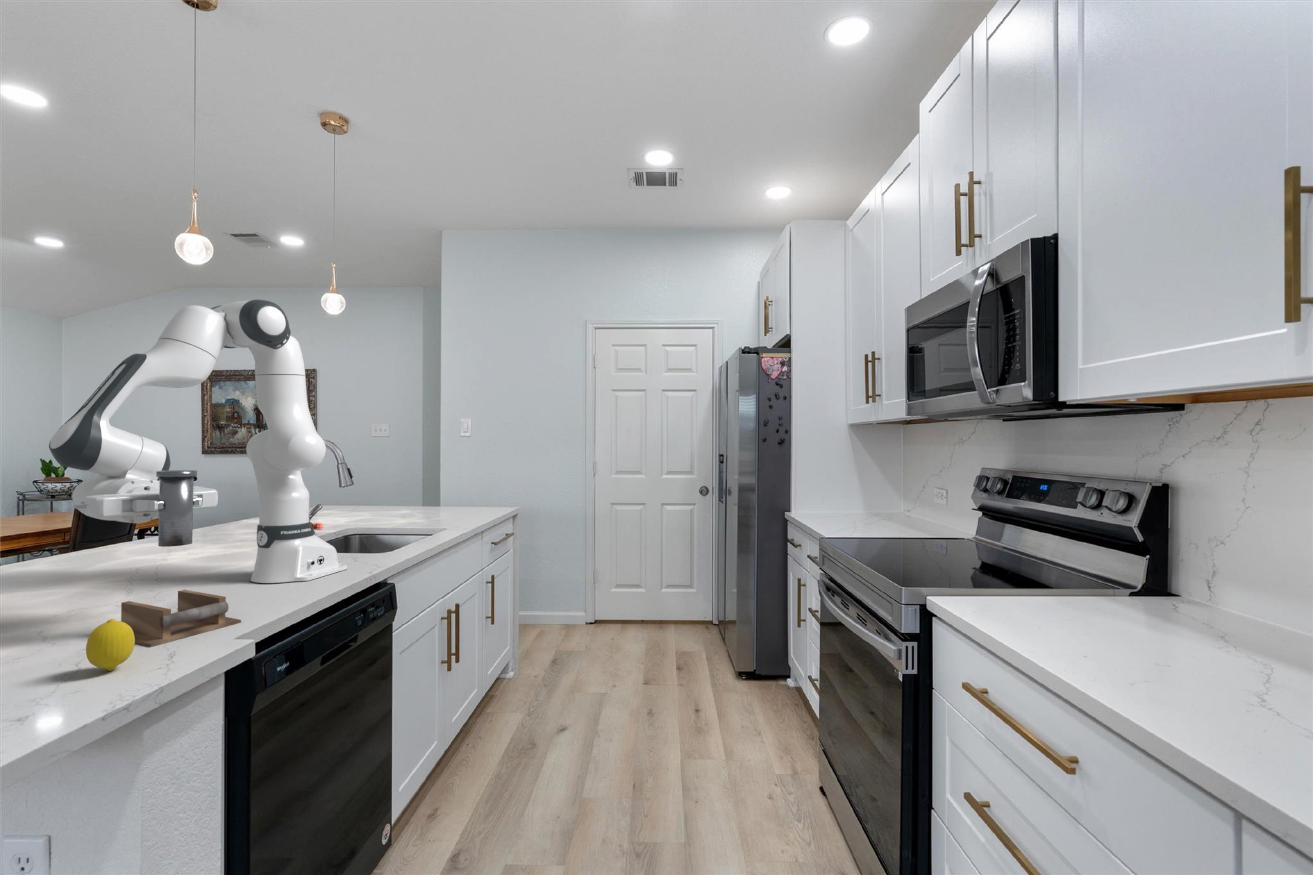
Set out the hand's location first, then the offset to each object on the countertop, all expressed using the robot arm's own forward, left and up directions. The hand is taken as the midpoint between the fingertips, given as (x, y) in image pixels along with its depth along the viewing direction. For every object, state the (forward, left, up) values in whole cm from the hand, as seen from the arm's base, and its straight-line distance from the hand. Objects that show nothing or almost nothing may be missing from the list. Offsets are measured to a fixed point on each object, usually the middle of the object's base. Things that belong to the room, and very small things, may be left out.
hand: (179, 504), depth 110 cm
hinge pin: (0, -1, -8) cm, 8 cm away
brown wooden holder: (0, -1, -24) cm, 24 cm away
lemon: (+16, +13, -24) cm, 32 cm away
